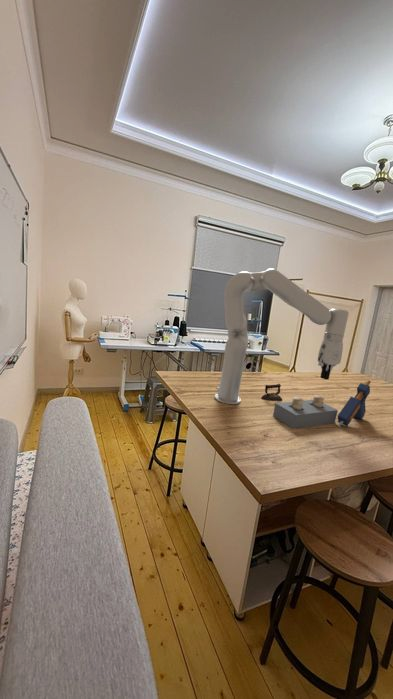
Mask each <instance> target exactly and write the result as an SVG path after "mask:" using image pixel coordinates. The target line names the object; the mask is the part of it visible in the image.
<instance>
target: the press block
mask: <svg viewBox="0 0 393 699" xmlns="http://www.w3.org/2000/svg"><path fill="white" fill-rule="evenodd" d="M312 401H313V399H310V400H309V399H307V400H306V399H305V400H304V402H303V406H302V410H298V411H296V410H295V409H293V408H291V405H292V401H284V402H276V403H275V404H274V409H273V413H272V417H274V418H276V419H277V420H279V421H280V422H281V423H283V424H285V425H286V426H288V427H290V428H291V429H293V430H295V429H300V428H308V427H313V426H321V425H327V424H333V423H336V418H337V416H338V411H339V410H338V409H337V408H334V407H332V406H330V405H329V404H327V403H324V402H323V406H322V408H316V407H314V406H312Z"/></svg>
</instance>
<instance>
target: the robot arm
mask: <svg viewBox="0 0 393 699" xmlns="http://www.w3.org/2000/svg"><path fill="white" fill-rule="evenodd" d="M264 290H265V291H266V290H269V291H270V292H271V293H272V294H274V295H275V296H277V298H279V299H280V300H281V301H282V302H284V303H285V304H287V305H288V306H290V307H292V308H294V309H296V310H297V311H299V312H300V313H301V314H303V315H304V316H305V317H307V319H309V321H310V322H312V323H313V324H315V325H318V326H323V325H326V326H325V330H324V335H323V339H322V342H321V345H320V347H319V350H318V354H317V362H318V364H317V366H320V367H321V368H320V369H321V372H320V378H321V379H323V380H329V379H330V374H331V371H333V368H334V367H336V366H337V365H340V364H341V362H342V356H343V350H344V342H343V340H344V337H345V332H346V328H347V322H348V319H349V311H348V310H345V309H340V308H328V307H327V306H326V305H325V304H323V303H322V302H320V301H319V300H317V299H316V298H315V297H314V296H312V295H311V294H309V293H308V292H307V291H306V290H304V289H303V288H301V287H300V286H299V285H297V284H296V283H294V282H293V281H292V280H290V279H289V277H287V276H286V275H284V274H283V273H281V271H279V270H277V269H276V268H268V269H266V270H264V271H259V272H249V271H239V272H238V273H236V274H234V275H232V277H231V278H230V279H229V280H228V281H227V283H226V285H225V289H224V298H223V299H224V320H225V322H224V323H225V327H226V329H227V336H228V339H227V340H226V343H225V348H224V355H223V363H222V369H221V376H220V382H219V386H216V389H215V390H217V392H216V393H214V398H215V400H216V401H218V402H220V403H222V404H226V405H238V404H240V403H241V402H242V399H241V397H240V396H239V394H240V390H241V389H240V388H241V384H242V382H241V381H242V376H243V371H244V366H245V365H244V364H245V360H246V353H247V350H248V345H249V338H248V321H247V317H246V315H245V312H244V311H245V310H244V294H245V293H246V292H256V291H264Z"/></svg>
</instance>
